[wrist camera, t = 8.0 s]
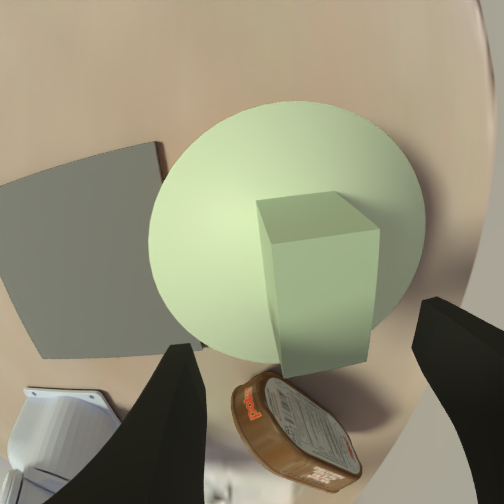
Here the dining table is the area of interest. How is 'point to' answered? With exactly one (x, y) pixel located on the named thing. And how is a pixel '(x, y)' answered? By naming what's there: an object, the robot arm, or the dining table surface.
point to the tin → (293, 434)
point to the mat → (87, 257)
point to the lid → (288, 235)
